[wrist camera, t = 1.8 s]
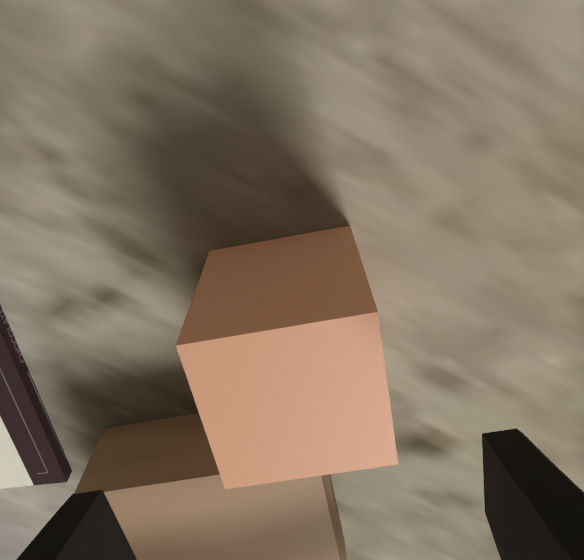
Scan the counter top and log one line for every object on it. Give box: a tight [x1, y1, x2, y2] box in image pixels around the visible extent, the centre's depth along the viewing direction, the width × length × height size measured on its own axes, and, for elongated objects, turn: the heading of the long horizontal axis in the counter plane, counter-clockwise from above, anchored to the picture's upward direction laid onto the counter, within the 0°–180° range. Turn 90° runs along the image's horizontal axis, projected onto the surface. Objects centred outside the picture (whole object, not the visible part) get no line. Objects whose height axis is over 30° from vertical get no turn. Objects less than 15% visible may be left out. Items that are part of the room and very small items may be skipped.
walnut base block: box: [74, 413, 347, 560], centre depth 20 cm, size 8×8×4 cm
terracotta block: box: [176, 226, 398, 489], centre depth 15 cm, size 4×4×6 cm
